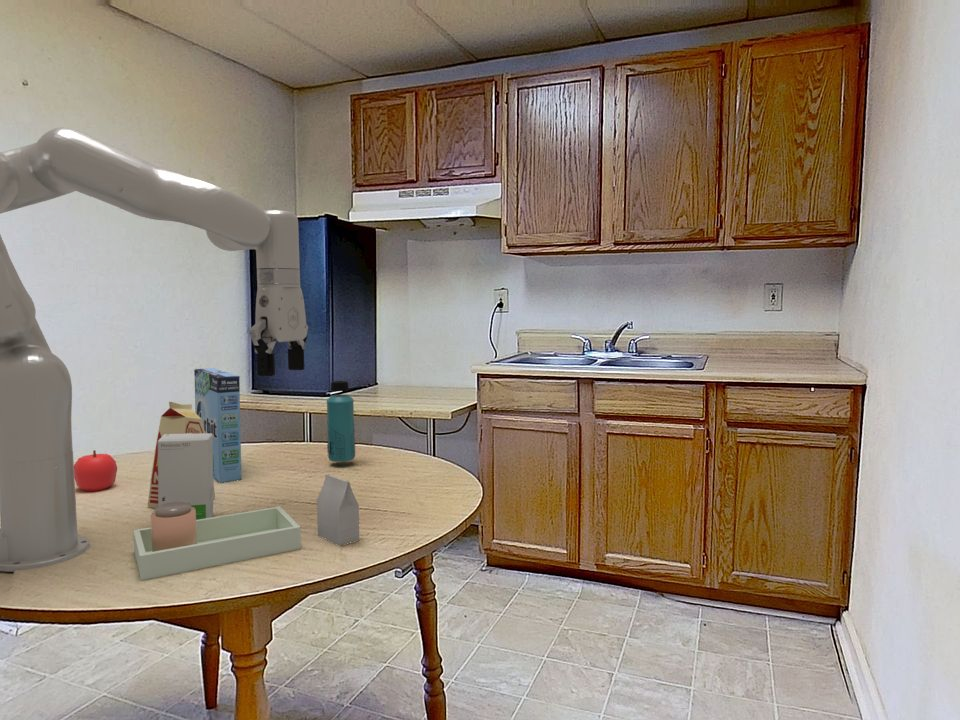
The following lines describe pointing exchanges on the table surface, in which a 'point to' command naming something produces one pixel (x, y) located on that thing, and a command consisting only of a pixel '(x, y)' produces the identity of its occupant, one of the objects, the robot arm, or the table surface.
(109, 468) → the apple
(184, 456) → the skincare box
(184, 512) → the jar
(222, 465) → the gum box
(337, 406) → the beverage bottle
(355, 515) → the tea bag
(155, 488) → the milk carton
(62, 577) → the table surface
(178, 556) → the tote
